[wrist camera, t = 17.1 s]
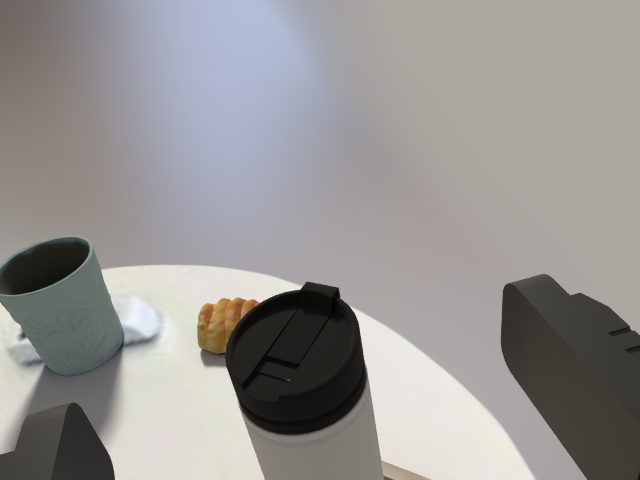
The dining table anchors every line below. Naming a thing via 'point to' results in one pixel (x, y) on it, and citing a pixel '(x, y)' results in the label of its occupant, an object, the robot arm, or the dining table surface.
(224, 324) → the pastry
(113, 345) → the green cup
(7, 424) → the dining table surface
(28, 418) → the robot arm
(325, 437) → the travel mug
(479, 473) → the dining table surface
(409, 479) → the square wooden tray
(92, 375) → the dining table surface
